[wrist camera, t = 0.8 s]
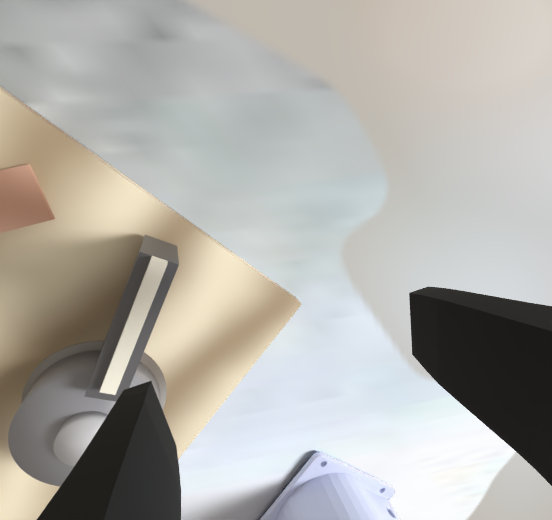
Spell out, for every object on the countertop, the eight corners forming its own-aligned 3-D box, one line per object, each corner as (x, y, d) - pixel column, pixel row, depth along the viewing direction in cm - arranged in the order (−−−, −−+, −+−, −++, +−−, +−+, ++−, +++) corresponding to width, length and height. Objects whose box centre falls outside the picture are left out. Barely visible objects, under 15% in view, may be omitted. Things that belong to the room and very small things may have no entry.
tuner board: (295, 297, 20) (302, 305, 19) (97, 547, 21) (93, 568, 20) (-38, 59, 13) (-58, 50, 12) (-321, 457, 14) (-364, 484, 13)
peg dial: (137, 458, 18) (131, 519, 15) (10, 445, 16) (-28, 514, 13) (221, 261, 17) (233, 285, 13) (91, 215, 14) (70, 231, 11)
